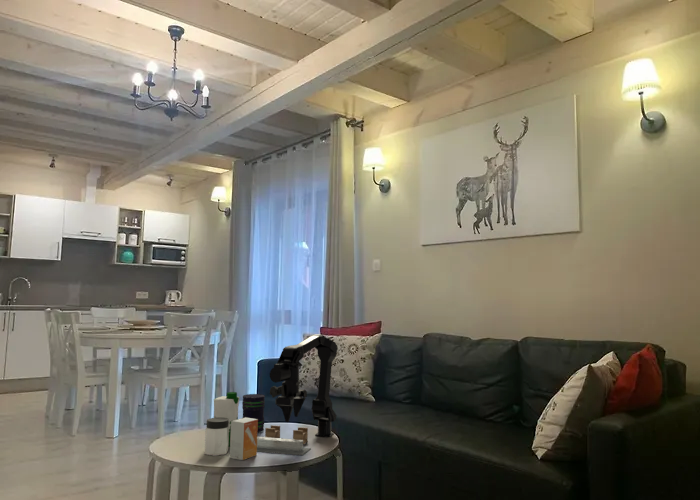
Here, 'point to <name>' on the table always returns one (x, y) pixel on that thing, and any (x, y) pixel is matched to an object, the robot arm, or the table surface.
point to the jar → (217, 436)
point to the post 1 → (272, 432)
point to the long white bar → (279, 444)
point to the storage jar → (254, 408)
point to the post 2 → (301, 434)
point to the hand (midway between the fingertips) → (291, 419)
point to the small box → (243, 438)
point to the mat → (284, 451)
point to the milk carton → (227, 408)
